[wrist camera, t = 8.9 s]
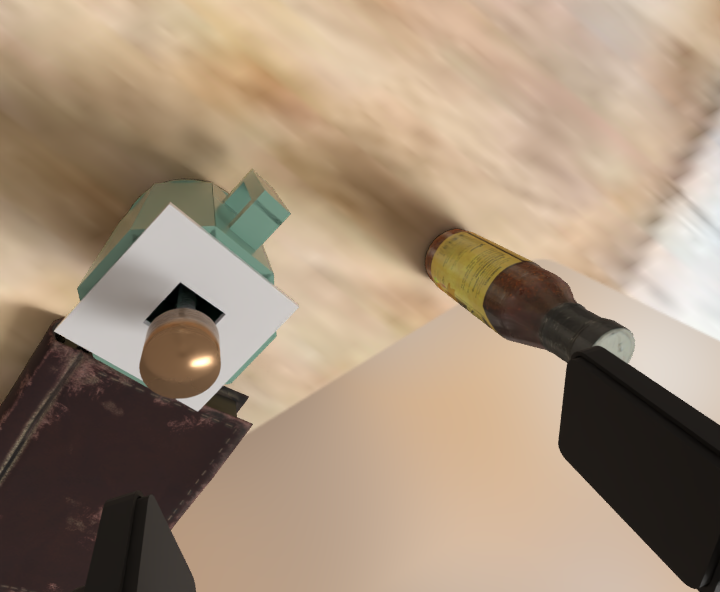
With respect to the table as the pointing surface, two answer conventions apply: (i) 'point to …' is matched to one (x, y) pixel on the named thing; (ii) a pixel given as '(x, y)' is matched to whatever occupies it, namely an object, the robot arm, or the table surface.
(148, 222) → the press carafe
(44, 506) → the diary
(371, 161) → the table surface
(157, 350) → the plunger
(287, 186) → the table surface
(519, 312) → the sauce bottle
